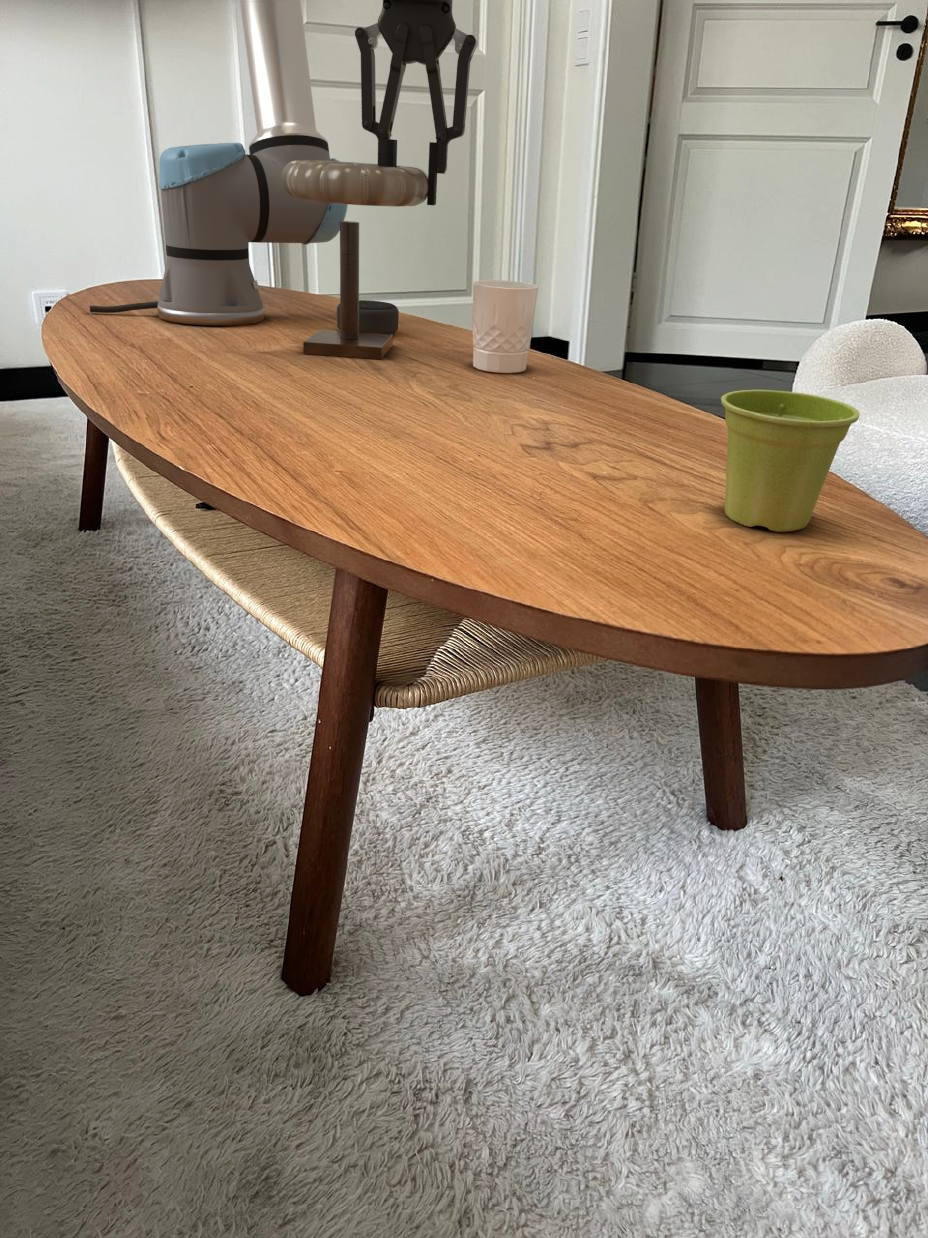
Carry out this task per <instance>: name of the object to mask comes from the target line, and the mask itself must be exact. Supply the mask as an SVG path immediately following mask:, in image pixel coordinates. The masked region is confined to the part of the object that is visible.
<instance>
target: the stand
mask: <svg viewBox="0 0 928 1238" xmlns="http://www.w3.org/2000/svg"><path fill="white" fill-rule="evenodd" d="M359 300H360V221H353V220H344V221H340V231H339V304H340V329H339V330H334V329H333V330H332V329H319V330H318V331H316V332H315V333H314V334H312V335H311V336H310V337H308V338H306V339H305V340H304V341H303V342H302V345H303V347H302V348H303V349H302V352H303V354H304V355H314V356H329V357H330V356H331V357H342V358H356V359H368V360H369V359H370V360H382V359H383V358H384V357H385V356H386V354H387V353H388V352H389V351H390V350H391V348H392V347H393V345H394V334H376V333H362V332H359Z"/></svg>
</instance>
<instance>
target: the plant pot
mask: <svg viewBox="0 0 928 1238" xmlns="http://www.w3.org/2000/svg"><path fill="white" fill-rule="evenodd" d="M720 401H721V402H720V404H721V406H722V407H723V408H724V409H725V410H724V412H725V413H724V414H725V415H724V416H725V417H724V418H725V419H724V422H725V424H726V425H725V426H726V427H727V442H726V443H727V444H726V445H727V446H726V467H725V468H726V469H725V489H724V490H725V493H724V513H725V515H726V516H727V517H728V518H729V519H730V520H732V521H733V522H736V523H738V524H739V525H741V526H743V527H749V528H752V527H755V526H759V527H765V528H767V529H768V530H769V531H772V532H778V533H783V532H793V531H799V530H802V529H804V528H806V527H807V525H808V524H809V522H810V520H811V517H812V515H813V513H814V510H815V507H816V506H817V505H816V504H817V501H818V500H819V497H820V494H821V492H822V490H823V486H824V484H825V481H826V480H827V479H826V478H827V476H828V474H829V471H830V469H831V467H832V464H833V461H834V459H835V456H836V454H837V452H838V449H839V447H840V444H841V442H843V441H844V440H845V438H846V437H847V435H848V432H849V430H850V427H851V426H852V424H855V423H856V422H858V420H859V418H860V411H859V410H858V409H856V407H854V406H852V405H850V404H847V403H845V402H842V401H839V400H836V399H831V398H828V397H824V396H819V395H815V394H809V393H804V392H795V391H788V390H787V391H786V390H772V389H741V390H737V391H735V390H734V391H730V392H727V393H725V394H723V395H722V396H721V398H720Z"/></svg>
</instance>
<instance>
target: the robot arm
mask: <svg viewBox="0 0 928 1238" xmlns="http://www.w3.org/2000/svg"><path fill="white" fill-rule="evenodd" d="M239 5H240V12H241V18H242V19H241V20H242V21H241V22H242V29H243V36H244V45H245V50H246V57H247V58H246V59H247V65H248V73H249V81H250V82H249V83H250V88H251V95H252V96H251V97H252V103H253V110H254V111H253V112H254V119H255V125H256V131H257V132H256V134H255V136H254V138H253V139H252V140H251V141H250V142H249V144H248V152H249V154H247V153H246V149H245V148H244V145H243V144H242V143H241V142H219V143H218V142H217V143H203V144H190V145H189V144H188V145H179V146H173V147H169V148H166V149H164V150H163V151H162V152H161V154H160V156H159V160H158V168H159V169H158V170H159V173H158V174H159V175H158V177H159V178H158V179H159V183H158V189H159V190H160V199H161V209H162V212H161V213H162V223H163V232H164V233H163V234H164V243H165V256H166V264H165V268H164V272H163V278H162V281H161V286H160V291H159V295H158V300H157V301H146V302H136V303H128V304H127V303H126V304H120V305H119V304H118V305H109V306H108V305H107V306H105V305H104V306H102V305H89V311H90V313H102V314H114V313H123V312H131V311H138V310H139V311H140V310H151V309H157V312H158V313H157V315H158V318H160V319H161V320H163V321H168V322H171V323H177V324H184V325H196V326H239V325H249V324H250V325H251V324H254V323H255V324H256V323H259V322H262V321H263V320H265V306H264V302H263V300H262V296H261V294H260V291H259V288H260V286H259V283H258V281H257V279H255V277H254V273H253V271H252V269H251V264H250V250H249V249H250V248H249V245H250V243H258V244H264V243H266V244H301V245H309V244H321V243H322V244H323V243H328V242H330V241H333V239H334V238H336V236H338V234H339V233H340V221H345V219H346V215H347V212H348V205H349V204H336V203H325V202H316V201H307V200H303V199H299V198H295V197H293V196H291V195H290V194H289V193H287V191H286V190H285V188H284V186H283V183H282V172H283V170H284V168H285V166H286V165H287V164H288V163H290V162H291V161H294V160H319V161H338V162H341V161H340V160H338V159H336V158H331V156H330V148H329V141H328V139H326V138H325V137H324V136H323V135H322V134H321V133H320V132H319V131H318V130H317V126H316V125H317V124H316V117H315V109H314V101H313V92H312V84H311V76H310V68H309V58H308V50H307V43H306V33H305V25H304V17H303V9H302V1H301V0H239ZM354 36H355V40H356V43H357V47H358V49H359V52H360V95H361V96H360V98H361V102H360V103H361V127H362V129H363V130H365V131H367V132H369V133H371V134H373V135H375V136H376V139H377V164H378V166H381V167H397V166H398V161H397V160H398V139H391V138H392V135H393V133H392V131H393V126H394V122H395V118H396V112H397V108H398V103H399V98H400V95H401V94H400V93H401V89H402V84H403V79H404V76H405V73H406V68H407V65H411V64H415V63H417V64H421V65H423V66H425V71H426V76H427V83H428V89H429V97H430V102H431V110H432V111H431V112H432V116H433V117H432V118H433V126H434V133H435V139H436V142H433V141H429V143H428V144H429V145H428V168H427V169H428V170H427V175H428V193H427V199H426V205H427V206H436V205H437V189H438V174H439V175H445V174H446V172H447V170H448V153H449V152H448V151H449V150H448V149H449V143H451V141H453V140H456V139H458V138H462V137H463V136H464V135H465V132H466V120H467V119H466V118H467V107H468V96H469V95H468V94H469V82H470V70H471V69H470V68H471V63H472V59H473V56H474V54H475V51H476V49H477V46H478V40H477V38H476V37H475V35H474V34H468V33H466V32H464V31H462V30H460V29H458V28H457V25H456V22H455V19H454V17H453V0H382V7H381V11H380V14H379V16H378V18H377V22H376V23H374V24H371V25H368V26H366V27H361V26H359V27H357V28H356V29H355V31H354ZM380 36H382V38H383V40H384V42H385V43H386V45H387V46H388V48H389V51H390V52H391V59H390V63H389V64H390V65H389V73H388V77H387V83H386V87H385V92H384V97H383V103H382V107H381V112H380V117H379V122H378V121H377V107H376V105H377V104H376V102H377V99H376V97H377V96H376V91H377V90H376V55H375V50H377V48H378V46H379V37H380ZM452 40H454V42H455V43H454V51H455V53H456V54H457V55H458V56H457V57H458V58H457V64H456V76H455V89H454V101H453V102H454V103H453V115H452V126H450V127H448V122H447V113H446V107H445V99H444V98H445V97H444V92H443V85H442V84H443V83H442V77H441V66H440V57H441V56H442V54H443V53H444V52H445V50H446V49H447V47H448V46H449V45H450V43H451V42H452Z"/></svg>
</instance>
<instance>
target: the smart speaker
mask: <svg viewBox="0 0 928 1238" xmlns="http://www.w3.org/2000/svg"><path fill="white" fill-rule="evenodd" d="M399 314H400V311H399V308H398V307H397V305H395V304H393V303H390V302H386V301H380V300H367V299H365V300H364V299H359V332H362V333H376V334H391V335H394V334H395V333H396V332H397V331H398V329H399V321H400V320H399V318H400V317H399V316H400V315H399ZM336 327H337V328H338V330H340V303H339V304H338V305H337V306H336Z"/></svg>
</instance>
